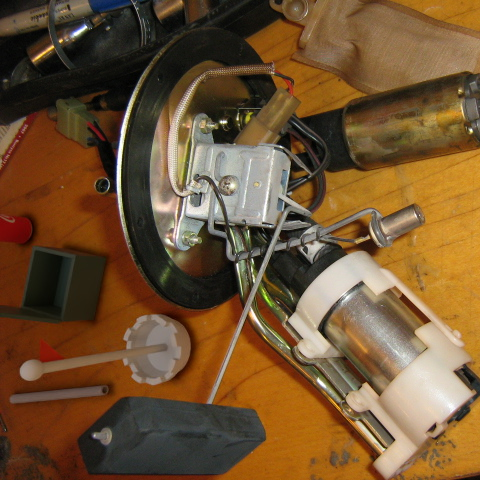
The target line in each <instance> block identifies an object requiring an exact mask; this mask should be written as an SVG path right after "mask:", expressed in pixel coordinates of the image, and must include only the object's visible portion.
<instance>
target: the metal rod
mask: <svg viewBox="0 0 480 480" xmlns="http://www.w3.org/2000/svg"><path fill="white" fill-rule="evenodd" d="M109 389H110V388H109V386H108V385H107V384H102V385H101V384H100V385H94V386H92V385H91V386H84V387H82V386H81V387H73V388H63V389H54V390H43V391H35V392H23V393H16V394H12V395H11V396H10V397H9V403H10V404H12V405H13V404H14V405H15V404H23V403H35V402H43V401H44V402H46V401H57V400H67V399H76V398H77V399H78V398H88V397H101V396H107V394H108V393H109Z"/></svg>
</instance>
